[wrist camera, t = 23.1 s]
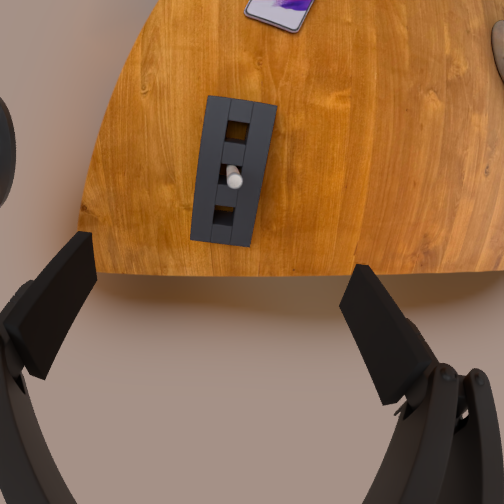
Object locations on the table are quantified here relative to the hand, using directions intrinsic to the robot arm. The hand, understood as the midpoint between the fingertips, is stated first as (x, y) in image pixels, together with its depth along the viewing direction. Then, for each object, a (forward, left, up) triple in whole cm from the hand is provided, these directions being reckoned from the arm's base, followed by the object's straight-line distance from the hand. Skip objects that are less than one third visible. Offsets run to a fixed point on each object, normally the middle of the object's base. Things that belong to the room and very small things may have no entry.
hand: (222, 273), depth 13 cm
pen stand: (0, 0, -25) cm, 25 cm away
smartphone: (+3, +27, -25) cm, 37 cm away
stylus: (0, 0, -25) cm, 25 cm away
